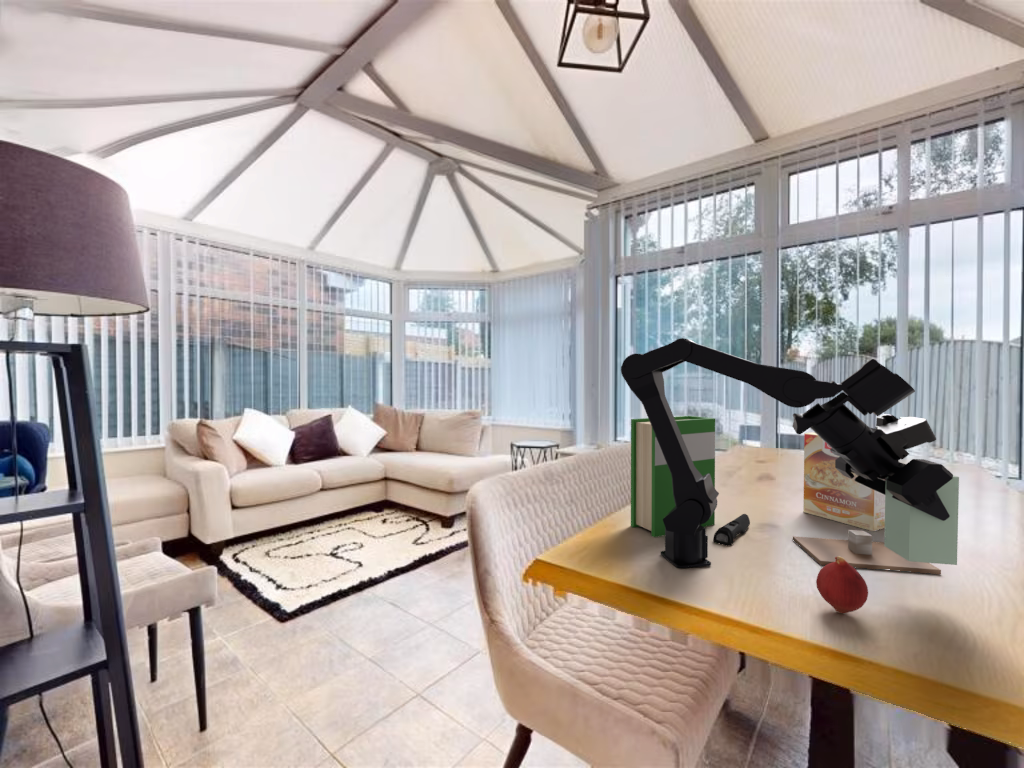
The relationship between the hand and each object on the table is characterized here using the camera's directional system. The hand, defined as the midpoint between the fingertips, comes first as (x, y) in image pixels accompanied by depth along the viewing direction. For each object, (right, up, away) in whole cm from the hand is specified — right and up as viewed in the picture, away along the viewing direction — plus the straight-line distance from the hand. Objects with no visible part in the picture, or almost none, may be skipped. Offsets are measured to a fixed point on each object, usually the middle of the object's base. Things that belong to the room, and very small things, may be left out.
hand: (930, 511), depth 65 cm
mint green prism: (-1, -7, 0) cm, 7 cm away
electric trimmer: (-15, -13, +28) cm, 35 cm away
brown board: (+3, -13, +17) cm, 21 cm away
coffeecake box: (+15, -13, +37) cm, 42 cm away
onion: (-15, -14, -3) cm, 21 cm away
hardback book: (-26, -13, +33) cm, 44 cm away
